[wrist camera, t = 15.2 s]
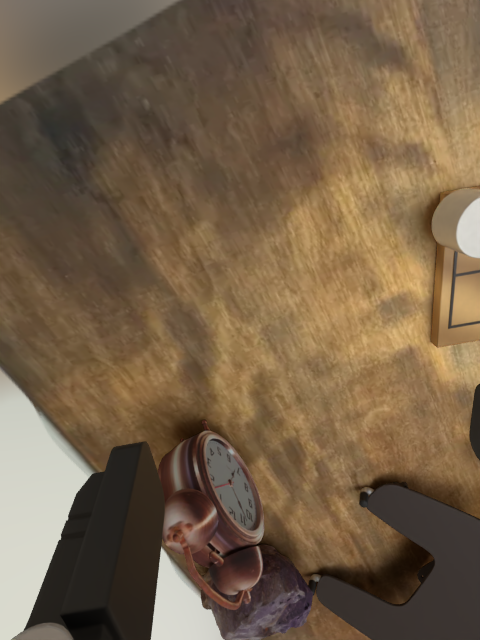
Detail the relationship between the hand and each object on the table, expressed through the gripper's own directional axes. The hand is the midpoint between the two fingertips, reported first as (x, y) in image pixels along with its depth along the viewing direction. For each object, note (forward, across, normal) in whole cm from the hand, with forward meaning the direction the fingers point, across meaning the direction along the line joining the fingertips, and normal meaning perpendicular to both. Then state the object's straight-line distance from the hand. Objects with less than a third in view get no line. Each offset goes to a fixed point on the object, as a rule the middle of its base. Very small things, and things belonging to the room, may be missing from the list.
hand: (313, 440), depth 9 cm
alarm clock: (+24, +6, +21) cm, 33 cm away
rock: (+24, +4, +39) cm, 46 cm away
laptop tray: (+24, -15, +42) cm, 51 cm away
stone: (+23, -18, +1) cm, 29 cm away
